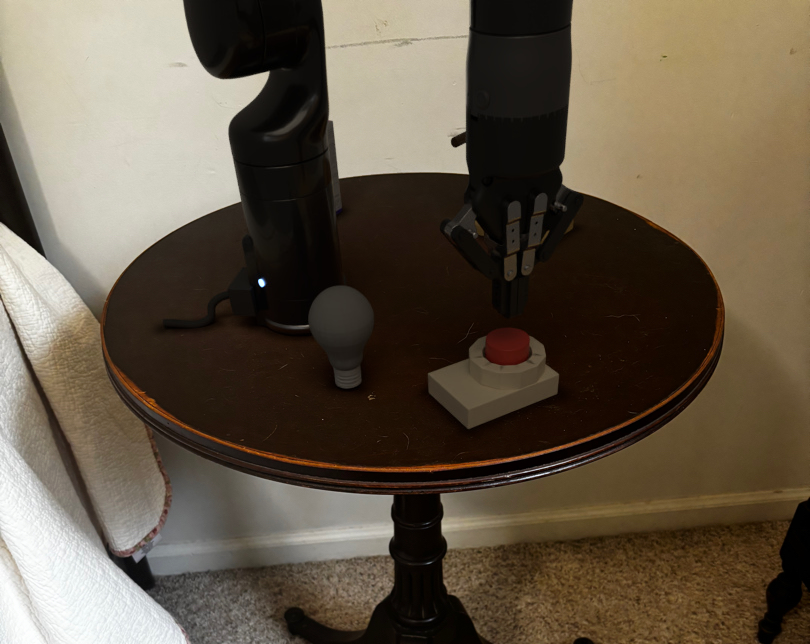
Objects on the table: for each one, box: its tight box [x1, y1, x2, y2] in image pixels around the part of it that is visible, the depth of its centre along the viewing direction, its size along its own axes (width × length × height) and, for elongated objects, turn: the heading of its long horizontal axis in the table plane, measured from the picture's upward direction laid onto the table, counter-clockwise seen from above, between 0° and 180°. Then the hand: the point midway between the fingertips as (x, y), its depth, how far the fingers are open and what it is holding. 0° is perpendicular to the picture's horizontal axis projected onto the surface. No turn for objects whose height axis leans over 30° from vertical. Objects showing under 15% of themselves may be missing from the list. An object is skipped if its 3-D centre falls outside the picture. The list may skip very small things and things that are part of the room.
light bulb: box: [308, 285, 375, 389], centre depth 74 cm, size 6×6×10 cm
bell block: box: [427, 335, 560, 430], centre depth 74 cm, size 10×7×4 cm
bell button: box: [485, 327, 530, 366], centre depth 73 cm, size 4×4×2 cm
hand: (509, 313), depth 70 cm, fingers closed
